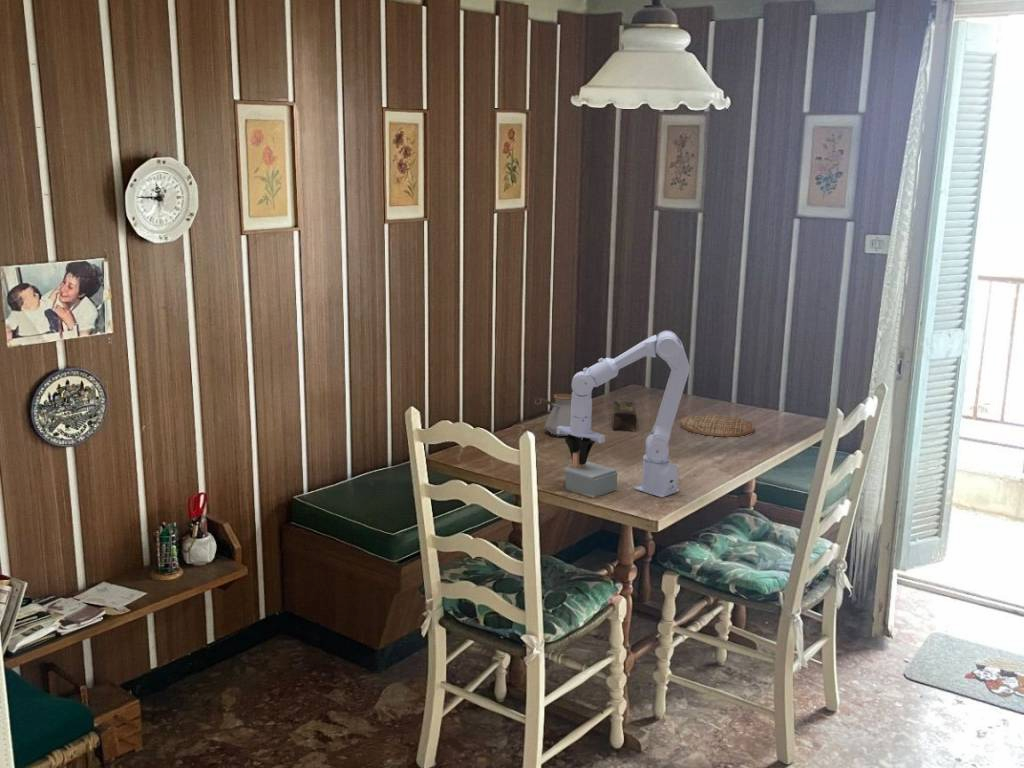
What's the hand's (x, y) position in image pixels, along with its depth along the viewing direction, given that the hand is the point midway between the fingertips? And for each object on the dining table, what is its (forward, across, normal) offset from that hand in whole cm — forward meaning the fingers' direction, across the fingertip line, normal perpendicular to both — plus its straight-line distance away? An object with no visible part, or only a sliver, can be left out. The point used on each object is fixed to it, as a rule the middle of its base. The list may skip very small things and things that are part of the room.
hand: (579, 462), depth 280 cm
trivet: (+7, -2, -84) cm, 84 cm away
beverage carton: (+7, +25, -67) cm, 72 cm away
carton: (+7, -5, +1) cm, 8 cm away
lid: (+2, -4, 0) cm, 4 cm away
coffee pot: (+7, +34, -37) cm, 50 cm away
